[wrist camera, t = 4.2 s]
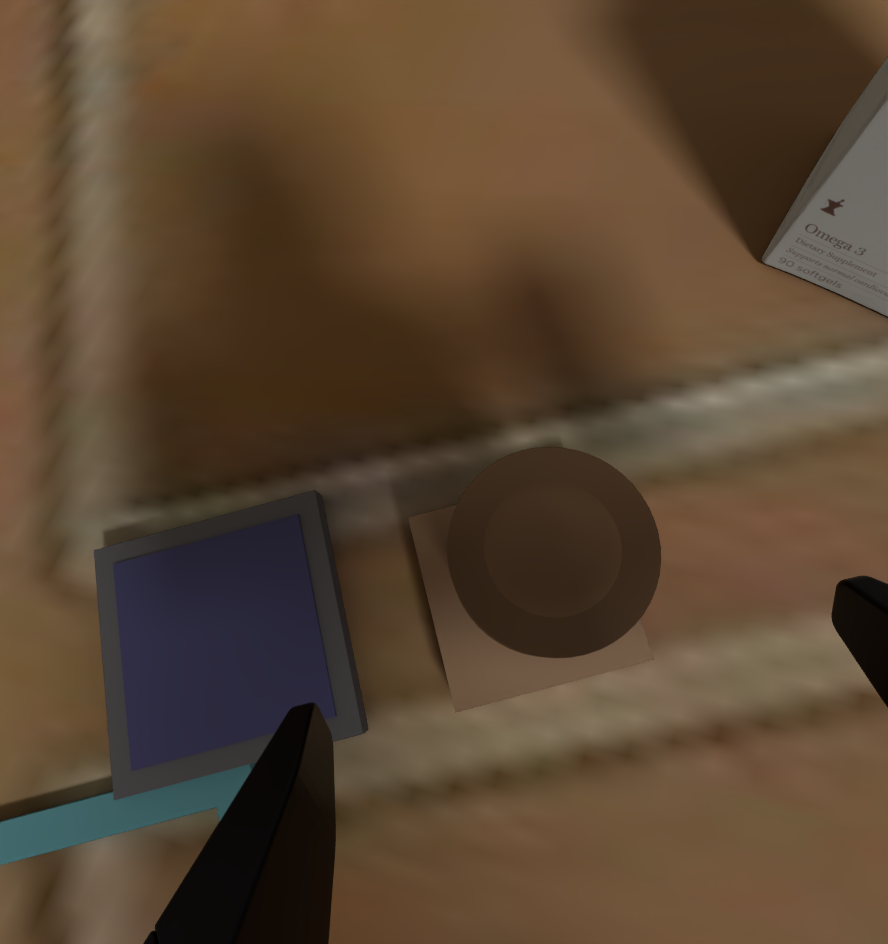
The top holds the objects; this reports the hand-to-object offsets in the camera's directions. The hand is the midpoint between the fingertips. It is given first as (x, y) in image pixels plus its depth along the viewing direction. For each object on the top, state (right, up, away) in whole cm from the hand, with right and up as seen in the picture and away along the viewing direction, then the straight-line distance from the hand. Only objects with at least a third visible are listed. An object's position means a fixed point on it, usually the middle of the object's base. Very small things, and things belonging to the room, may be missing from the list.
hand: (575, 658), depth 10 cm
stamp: (0, -1, +9) cm, 9 cm away
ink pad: (-10, -2, +10) cm, 14 cm away
